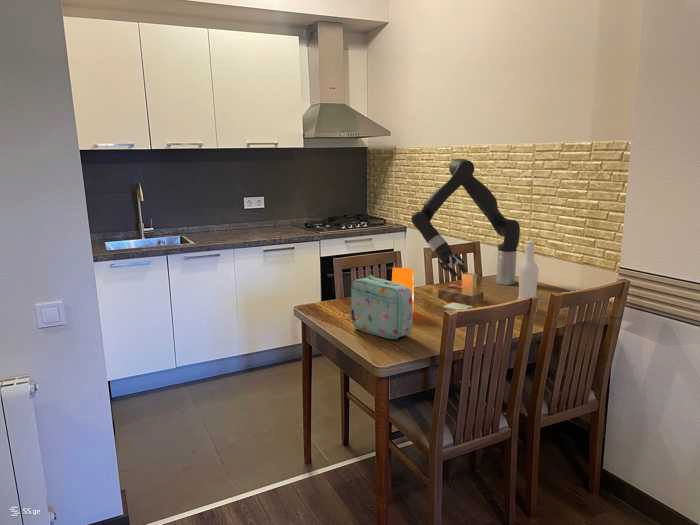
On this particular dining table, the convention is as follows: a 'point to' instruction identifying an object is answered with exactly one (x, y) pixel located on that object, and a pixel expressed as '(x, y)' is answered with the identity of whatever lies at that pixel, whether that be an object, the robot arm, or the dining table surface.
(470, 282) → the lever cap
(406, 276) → the orange juice
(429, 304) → the dining table surface
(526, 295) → the bottle
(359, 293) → the lunch box
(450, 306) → the pad
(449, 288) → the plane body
